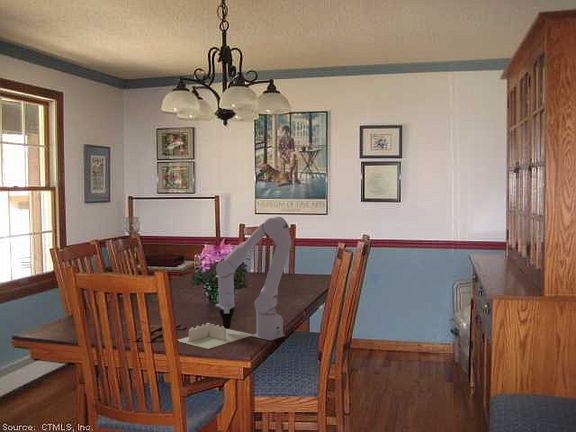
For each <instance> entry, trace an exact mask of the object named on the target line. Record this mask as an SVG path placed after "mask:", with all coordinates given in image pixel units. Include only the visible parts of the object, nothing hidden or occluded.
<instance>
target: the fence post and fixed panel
mask: <svg viewBox="0 0 576 432" xmlns="http://www.w3.org/2000/svg"><path fill="white" fill-rule="evenodd" d="M210 325H211V323H210V322H207V323H205V324H201V326H200V325H196V326H195V328H194V327H190V329H188V337H189V341H194V340H197V339H201V338H204V337H207V336H210Z"/></svg>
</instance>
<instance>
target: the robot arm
mask: <svg viewBox="0 0 576 432" xmlns="http://www.w3.org/2000/svg"><path fill="white" fill-rule="evenodd" d="M265 237H270V238H271V239H272V240H273V242H274V244H275V245H276V246H275V250H274V253H273V256H272V260H271V262H270V265H269V269H268V272H267V275H266V279H265V280H264V281H265V282H264V285H263V287H262V289H261V291H260V292H259V295H258V297H257V298H256V299H255V300H254V303H253V306H254V309H255V312H256V315H255V316H256V333H254V335H252V336H251V338H252V337H253V338H256V339H257V338H258V339H262V340H267V341H274V340H277V339H279V338H283V337H285V334H284V321H283V317H282V315H280V314H278V313H277V310H276V307H277V305H278V294H279V290H278V289H279V285H280V282H281V279H282V275H283V272H284V269H285V266H286V263H287V260H288V256H289V253H290V251H291V247H292V243H293V242H292V238H291V234H290V226H289V224H288V222H287V221H286V220H285V218H284V217H281V216H275V217H270V218H267V219H266V220H265V221H264V222H263V223H261V224H260V225H258V227H257V228H256V229H255V230H254V231H253V232H252V234H251V235H250V236H249V237H248V238H247V239H246V240H245V242H243V244H242V245H236V246H233V247H232V248H231V252H229V254H227V255H226V256H224V257H223V260H222V261H219V262H217V265H216V267H215V272H216V275H218V276H217V277H218V278H217V279H218V282H217V283H218V286H217V287H218V303H216V304H215V307H216V308H217V307H218V308H220V309H218V313H219V315H220V316H221V320H222V326H224V328H225V329H230V328H231V324H232V318H233V315H234V313H235V308H234V307H235V306H236V305H235V283H234V282H235V281H234V274H235V273H236V271H237V269H238V267H240V265H241V264H242V263H243V262H244V261H245V260H246V259H247V258H248V257H249V251H250V250H251V249H253V247H255V246H256V245H257V244H259V242H260V241H261V240H262V239H263V238H265ZM230 330H231V329H230Z"/></svg>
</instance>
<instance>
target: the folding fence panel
mask: <svg viewBox="0 0 576 432" xmlns="http://www.w3.org/2000/svg"><path fill="white" fill-rule="evenodd" d="M210 337H214V338H218V339H222V340H226V329H225V328H224V326H223V325H222V326H220V325H219V324H217V325H215V323H212V324H211V325H210Z"/></svg>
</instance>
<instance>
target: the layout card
mask: <svg viewBox="0 0 576 432" xmlns="http://www.w3.org/2000/svg"><path fill="white" fill-rule="evenodd" d="M254 334H255V333H254ZM254 334H252V333H248V332H245V331H244V332H243V331H239V330H234V329H226V340H222V339H218V338H214V337H210V336H207V337H204V338H201V339H197V340H194V341H189V336H187V337H186V336H185V337H182V338H179V339H177V340H178V341H179V342H178V343H181V342H182V343H183V344H185V343H186V345H191V346H192V347H197V348H201V349H204V350H210V349H213V348H217V347H219V346H220V347H221V346H223V345H227V344H230V343H232V342H236V341H238V340H243V339H245V338H248V337H252V335H254Z"/></svg>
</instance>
